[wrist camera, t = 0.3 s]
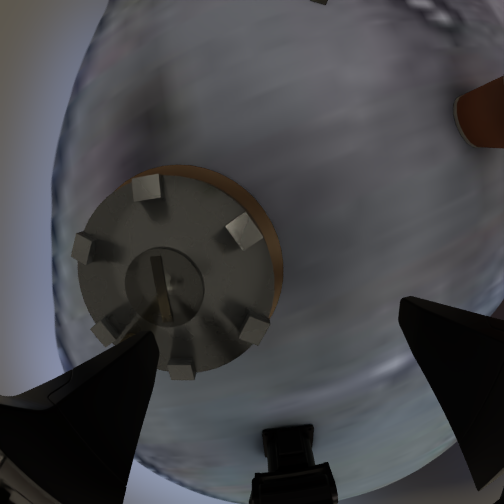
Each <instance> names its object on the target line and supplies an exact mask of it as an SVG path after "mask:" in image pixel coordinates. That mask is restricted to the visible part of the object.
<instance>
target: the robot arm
mask: <svg viewBox="0 0 504 504" xmlns="http://www.w3.org/2000/svg"><path fill="white" fill-rule="evenodd" d="M398 321H399V325H400V327H401V329H402V331H403V334H404V336H405V338H406V340H407V342H408V345H409V347H410V349H411V351H412V353H413V355H414V357H415V359H416V361H417V363H418V364H419V366H420V368H421V370H422V371H423V373H424V375H425V377H426V379H427V381H428V382H429V384H430V386H431V388H432V390H433V392H434V394H435V396H436V397H437V399H438V401H439V403H440V405H441V407H442V409H443V411H444V413H445V415H446V417H447V419H448V421H449V424H450V426H451V428H452V430H453V432H454V434H455V436H456V439H457V441H458V443H459V446H460V448H461V450H462V453H463V455H464V457H465V460H466V462H467V465H468V467H469V470H470V472H471V475H472V478H473V480H474V483H475V486H476V488H477V490H478V491H480V490H482V489H483V488H484V487H486V486H487V485H489V484H490V483H492V482H493V481H494V480H496V479H497V478H498V477H499V476H501V475H502V474H503V473H504V320H501V319H497V318H492V317H489V316H485V315H481V314H477V313H474V312H470V311H466V310H462V309H459V308H455V307H451V306H447V305H443V304H440V303H436V302H432V301H428V300H425V299H421V298H417V297H413V296H408V297H404V298H402V299H401V301H400V307H399V316H398ZM159 356H160V351H159V347H158V345H157V342H156V339H155V336H154V334H153V332H152V331H149V330H148V331H140V332H138V333H136V334H135V335H133V336H131V337H129V338H128V339H126V340H124V341H122V342H120V343H119V344H117V345H115V346H113V347H111V348H110V349H108V350H106V351H104V352H102V353H101V354H99V355H97V356H95V357H93V358H92V359H90V360H88V361H86V362H84V363H82V364H81V365H79V366H77V367H75V368H73V370H70V371H68V372H66V373H64V374H62V375H60V376H58V377H56V378H54V379H52V380H50V381H48V382H46V383H44V384H42V385H39V386H37V387H35V388H33V389H31V390H28V391H26V392H24V393H22V394H19V395H16V396H1V395H0V504H123V500H124V496H125V492H126V485H127V482H128V478H129V474H130V470H131V466H132V462H133V458H134V454H135V450H136V447H137V443H138V439H139V436H140V432H141V428H142V425H143V421H144V418H145V414H146V411H147V408H148V404H149V401H150V398H151V394H152V391H153V387H154V382H155V377H156V371H157V366H158V361H159ZM313 433H314V427H313V425H305V426H297V427H289V428H280V429H269V430H264V431H262V436H263V445H264V453H265V457H267V459H268V472H267V473H255V478H253V479H252V491H251V495H250V499H249V504H337V503H338V494H337V488H336V484H335V481H334V478H333V475H332V472H331V469H330V466H329V463H328V462H324V463H323V464H318V465H315V461H314V456H313V452H312V443H313ZM494 504H504V488H503V491H502V494H501V497H500V499H499V500H498V501H496V502H495V503H494Z"/></svg>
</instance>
